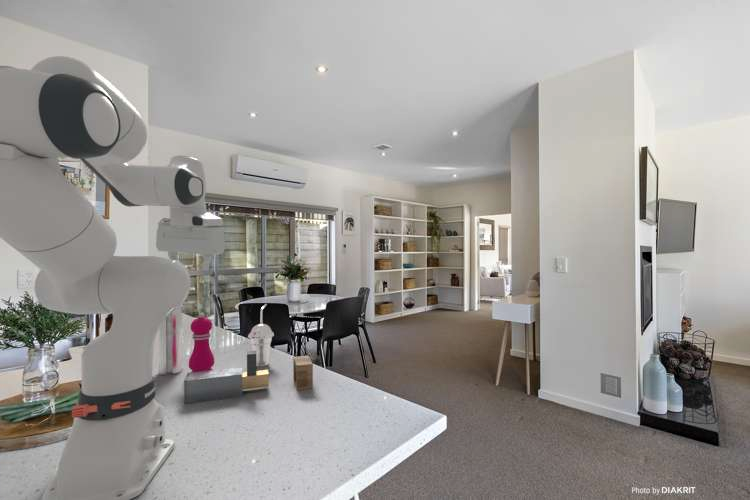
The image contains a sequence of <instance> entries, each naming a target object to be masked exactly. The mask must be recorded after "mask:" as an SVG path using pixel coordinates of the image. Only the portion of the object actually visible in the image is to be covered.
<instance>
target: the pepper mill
mask: <svg viewBox="0 0 750 500" xmlns="http://www.w3.org/2000/svg"><path fill="white" fill-rule="evenodd" d="M197 316H198V317H197V318H195V319H194V320H193V321H192V322H191V323H190V331H191V332H192V333H193V334H192V339H193V340H194V341H193V342H194V344H193V350H192V351H191V354H190V356H189V360H188V368H189V369H190V370H191V372H200V371H209V370H214V369H213V366H214V365H215V357H214V354H213V352H212V349H211V347H210V338H211V332H210V331H211V330H212V328H213V322H212V320H211V319H210V318H208V317H205V313H204V312H199V313H198V315H197Z"/></svg>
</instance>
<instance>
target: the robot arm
mask: <svg viewBox="0 0 750 500" xmlns="http://www.w3.org/2000/svg"><path fill="white" fill-rule="evenodd" d="M147 140H148V129H147V126H146V123H145V121H144V119H143V117H142V116H141V114H140V113H139V111H137V109H136V108H135V107H134V106H133V105H132V103H130V102H129V100H128V99H126V97H125V96H124V95H123V94H122V93H121V92H120V90H118V89H117V88H116V87H115V86H114V85H113V84H112V83H111V82H109V81H108V79H106V77H103V76H102V75H101V74H100V73H98V71H97V70H95V69H94V68H92V67H91V66H90V65H88V64H87V63H85V62H83V61H82V60H80V59H76V58H74V57H70V56H61V55H60V56H49V57H47V58H44V59H42V60H40V61H38V62H37V63H35V65H33V67H31V69H28V68H27V69H26V68H17V67H14V66H9V65H0V239H2V240H3V241H4V242H6V243H7V244H8V245H9V246H10V247H12V248H13V249H15V250H16V251H17V252H18V253H20V254H21V255H22V256H24V257H25V258H26V259H27V260H28V261H29V262H31V263H32V264H33V265H35V266H36V267H37V268H38V269H39V272H38V273H37V275H36V278H35V280H34V287H33V288H34V294H35V297H36V299H37V301H38V302H39V304H40V305H41V306H42V307H43V308H45V309H47V310H50V311H54V312H55V311H56V312H60V313H66V314H71V315H72V314H73V315H110V314H111V315H112V323H111V325H110V328H109V330H108V331H105V332H104V333H102V334H100V335H98V336H96V337H95V338H93V339H91V340H90V341H89V342H88V343H87V344H86V346H85V347H84V349H83V350H82V352H81V355H80V358H81V359H80V361H81V368H80V369H81V389H80V390H79V392H78V396H77V397H78V399H77V401H76V404H75V405H74V406H73V407H72V410H71V417H72V419H73V423H72V426H71V428H70V432H69V434H68V436H67V440H66V442H65V445H64V448H63V451H62V454H61V456H60V459H59V461H58V463H57V465H56V468H55V470H54V471H53V474H52V476H51V478H50V480H49V483H48V484H47V486H46V489H45V491H44V492H43V495H42V497H41V499H40V500H132V499H134V498H135V497H138V496H140V495H141V494H142V493H143V491H144V490H145V489H146V487H147V486H148V485H149V483H150V482H151V480H152V479H153V478H154V476H155V475H156V473H157V472H159V471H158V470H159V469H160V468H161V467H162V465H163V463H164V462H166V460H167V458H168V457H169V455H170V454H171V452H173V450H174V449H175V447H176V444H175V441H174V439H170V438H166V437H167V436H166V422H165V419H166V418H165V408H164V406H163V405H162V404H160V403H159V402H158V401H157V400H156V398H155V397H156V387H157V385H156V384H157V383H156V380H155V377H154V376H153V356H154V347H155V346H154V345H155V339H156V336H157V335H158V332H159V331H158V329H159V327H160V325H161V324H162V322H163V321H164V319H165V318H166V317H167V316H168V315H169V314H170V313H171V312H172V311H173V310H175V309H176V308H178V307H179V306H180V305H181V304H183V303H184V302H185V300H186V299H188V298H187V297H188V296H189V293H190V290H191V285H192V284H191V276H190V273H189V271H188V268H187V267H186V266H185V265H184V264H183V263H182V261H180V260H179V258H178V255H179V253H182V254H194V255H195V254H196V255H202V258H203V261H202V263H200V264H199V267H200V268H199V269H200V271H202V272H203V271H204V272H205V271H209V270H210V264H211V262H212V260H213V257H214V255H215V256H217V255H221V254H223V253H224V251H225V249H226V248H225V247H226V240H225V239H226V238H225V233H224V229H223V228H222V226H223V225H224V220H223V218H222V217H219V216H217V215H215V214H213V213H210V212H208V211H207V204H206V199H205V198H206V194H207V187H206V185H207V183H206V176H205V169H204V165H203V162H202V161H201V160H200V159H197V158H196V157H191V156H189V155H188V156H187V155H175V156H172V157H171V158H170V160H169V164H167V165H143V164H141V165H140V164H129V163H128V162H130V161H132V160H134V159H135V158H137V156H139V154H141V152H142V151H143V150H144V148H145V146H146V144H147ZM59 158H72V159H76V160H80V161H81V162H82V163H83V164H84V165H85V166H86V167H87V168H88V169H89V170H90V171H91V172H92V173H94V175H95V176H97V178H98V179H99V180H100V181H102V183H104V184H105V185H106V186H107V188H108V189H109V190H110V192H111V194H112V196H113V197H114V198H115V199H116V201H118V202H119V203H120V204H122V205H123V206H126V207H131V208H132V207H143V206H146V207H147V206H152V207H169V218H168V217H163V218H162V219H160V220H159V222H158V223H157V225H158V227H157V229H156V236H155V237H156V239H155V246H156V247H155V248H156V249H157V251H159V252H166V253H167V255H168V256H167V257H168V258H166V257H161V256H154V255H153V256H149V255H148V256H145V255H142V256H141V255H137V256H134V255H131V256H130V255H129V256H128V255H127V256H126V255H124V256H122V255H120V256H119V255H114V254H116V253H115V252H116V250H117V244H118V243H117V241H118V239H117V236H116V235H117V234H116V231H115V230H114V228H112V226H111V225H110V224H109V222H107V220H106V219H105V218H104V217H103V216H102V215H101V213H100V212H99V211H98V210H97V209H96V207H95V206H94V205H93V203H91V202H90V201H89V199H88V198H87V197H86V196H85V195H84V194H83V192H81V191H80V189H78V188H77V186H76V185H74V184H73V182H72V181H70V180H69V179H68V178H67V177H65V175H64V173H63V171H62V168H61V165H60V163H59Z"/></svg>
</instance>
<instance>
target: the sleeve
mask: <svg viewBox="0 0 750 500" xmlns="http://www.w3.org/2000/svg"><path fill="white" fill-rule="evenodd" d="M242 372H243V366H239V367H229V368H220V369H213V370H209V371H200V372H192V371H191V372H187V374H186V376H185V378H184V381H183V404H184V405H186V404H194V403H195V404H196V403H200V402H208V401H218V400H224V399H232V398H240V397H243V390H242Z"/></svg>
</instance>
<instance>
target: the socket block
mask: <svg viewBox="0 0 750 500" xmlns="http://www.w3.org/2000/svg"><path fill="white" fill-rule="evenodd" d="M292 362H293V363H292V364H293V369H292V370H293V372H292V373H293V374H292V375H293V376H292V377H293V383H294V385H295V389H296V391H300V390H301V391H302V390H308V388H309V389H313V388H314V381H313V380H314V379H313V377H314V373H313V371H314V368H313V367H314V364H313V362H312V360H311V358H310V356H309V355H301V356H293V360H292Z"/></svg>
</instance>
